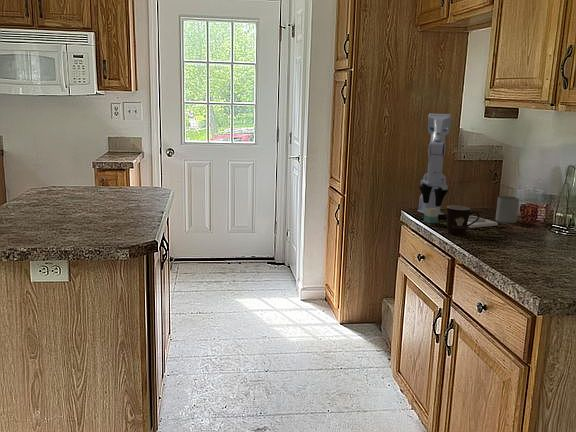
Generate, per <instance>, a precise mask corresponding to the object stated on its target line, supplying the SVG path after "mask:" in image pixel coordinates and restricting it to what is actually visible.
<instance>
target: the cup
mask: <svg viewBox="0 0 576 432" xmlns="http://www.w3.org/2000/svg"><path fill="white" fill-rule="evenodd" d="M519 203H520V198H519V197H516V196H508V195H506V196H505V195H500V196H497V203H496V204H497V205H496V210H495V211H496V212H495V222H500V223H504V224H505V223H506V224H507V223H508V224H514V223H515V224H516V223H517V221H518V213H519Z"/></svg>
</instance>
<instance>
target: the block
mask: <svg viewBox="0 0 576 432" xmlns="http://www.w3.org/2000/svg"><path fill="white" fill-rule="evenodd" d="M438 212H439V210H438V209H434V208H425V210H424V213H423V222H424V223H428V224H438V222H439V215H438Z"/></svg>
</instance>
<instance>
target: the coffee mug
mask: <svg viewBox="0 0 576 432" xmlns="http://www.w3.org/2000/svg"><path fill="white" fill-rule="evenodd" d="M472 214H476V215H477V217H478V218H477V219H476V220H475V221H474V222H472V223H470V224H469V225H467V223H468V218H469V216H472ZM479 218H480V213H479V212H478V211H475V210H474V211H471V208H470V207H468V206H463V205H447V206H446V224H447V234H448V235H451V236H456V237H457V236H460V237H461V236H465V235H466V232H467V228H469V227H468V226H470V225H472V224H474V223H475V222H476V221H477V220H478V219H479Z"/></svg>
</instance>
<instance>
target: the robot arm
mask: <svg viewBox="0 0 576 432" xmlns="http://www.w3.org/2000/svg"><path fill="white" fill-rule="evenodd" d="M451 126H452V114H451V113H431V112H430V113H429V114H428V118H427V131H428V132H427V134H429V135H430V142H429V143H428V148H427V155H428V156H427V157H428V159H427V160H428V163H427V172H426V173H424V175H423V179H420V186H419V187H418V189H420V192H421V194H420V196H419V200H418V209H417V210H416V212H418V213H421V214H424V210H425V208H434V209H438V210H439V212H438V216H441V215H443V216H444V215H445V213H444V212H441V207H442V204H443V201H444V198H445V196H446V195H447V193H448V192H449V190H448V186H449V185H448V184H447V181H446V180H447V177H446V175H445V174H443V164H444V156H445V155H446V154H445V153H446V147H447V146H446V136H447V135H449V134H450V132H451Z"/></svg>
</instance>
